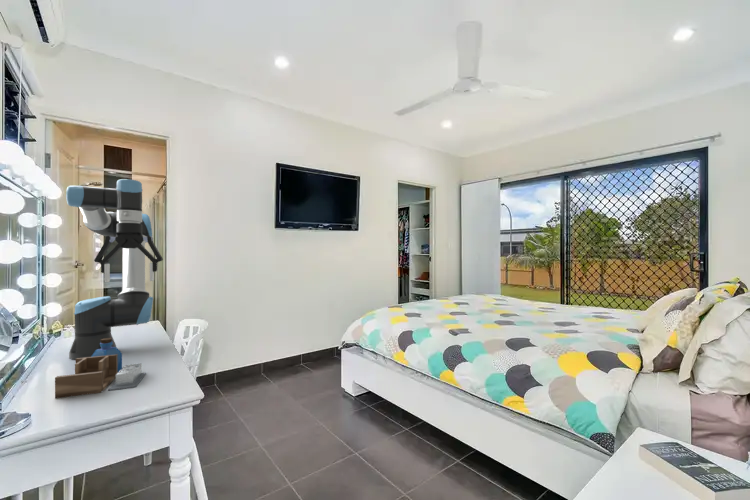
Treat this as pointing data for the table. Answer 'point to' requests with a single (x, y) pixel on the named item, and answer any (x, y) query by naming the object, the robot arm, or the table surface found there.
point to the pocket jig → (88, 376)
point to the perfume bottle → (108, 351)
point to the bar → (128, 374)
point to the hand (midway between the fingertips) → (130, 281)
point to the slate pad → (127, 384)
